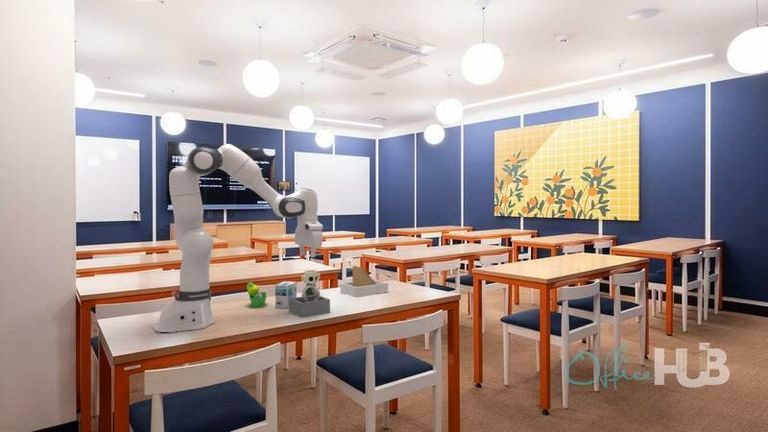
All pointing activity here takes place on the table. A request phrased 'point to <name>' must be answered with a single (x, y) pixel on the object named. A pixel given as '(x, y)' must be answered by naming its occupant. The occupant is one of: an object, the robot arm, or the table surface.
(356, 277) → the sandwich container
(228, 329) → the table surface
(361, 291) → the light grey tray
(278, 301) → the light bulb box
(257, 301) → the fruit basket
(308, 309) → the crate
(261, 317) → the table surface
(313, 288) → the watch
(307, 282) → the big eyed figurine
